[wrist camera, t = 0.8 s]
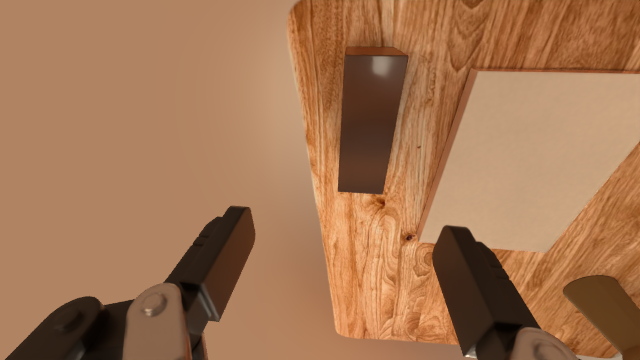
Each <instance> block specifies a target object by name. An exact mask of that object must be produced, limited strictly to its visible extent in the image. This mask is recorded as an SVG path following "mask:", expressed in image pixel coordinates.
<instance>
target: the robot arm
mask: <svg viewBox="0 0 640 360" xmlns="http://www.w3.org/2000/svg"><path fill="white" fill-rule="evenodd" d="M254 241H255V229H254V224H253V219H252V214H251V210H250V208H249V207H242V206H230V207H229V208H228V209H227V211H226V212H225V214H224V215H223V217H216V218H215V219H213V220H212V221H211V222H209V223H208V224H207V225H206V226H205V227H204V229H203V230H202V231H201V233H200V234H199V237H197V238H196V240H195V241H194V242H193V245H192V246H191V247H190V248H189V249H188V251H187V252H186V253H185V255H184V256H183V257H182V259H181V260H180V262H179V263H178V264H177V266H176V267H175V268H174V270H173V271H172V273H171V274H170V275H169V277H168V278H167V279H166V280H165V282H164V283H162V284H158V285H155V286H152V287H150V288H149V289H147V290H145V291H144V292H143V293H141V294H140V295H139V296H138V297H137V298H136V299H133V300H129V301H124V302H118V303H113V304H108V305H103V304H102V303H101V302H100V301H99V300H98V299H96V298H95V297H90V296H89V297H82V298H77V299H75V300H72V301H70V302H68V303H66V304H64V305H62V306H61V307H59V308H58V309H56V310H55V311H54V312H52V313H51V314H50V315H49V316H48V317H47V318H46V319H45V320H44V321H43V322H42V323H41V324H40V325H39V326H38V327H37V328H36V329H35V330H34V331H33V332H32V333H31V334H30V335H29V336H28V337H27V338H26V339H25V340H24V341H23V342H22V343H21V344H20V345H19V346H18V347H17V348H16V349H15V350H14V351H13V352H12V353H11V354H10V355H9V356H8V357H7V358H6V359H5V360H208V356H207V349H206V343H205V337H204V332H203V330H204V328H205V326H206V324H207V322H208V321H216V322H219V321H220V319H221V316H222V314H223V312H224V310H225V308H226V305H227V303H228V301H229V298H230V296H231V294H232V292H233V290H234V287H235V285H236V283H237V281H238V279H239V276H240V274H241V272H242V270H243V267H244V265H245V263H246V261H247V259H248V256H249V254H250V252H251V250H252V248H253V245H254ZM432 261H433V266H434V269H435V272H436V275H437V278H438V281H439V284H440V287H441V290H442V293H443V296H444V299H445V302H446V305H447V308H448V311H449V314H450V317H451V320H452V323H453V326H454V329H455V332H456V335H457V338H458V341H459V344H460V347H461V350H462V353H463V356H464V357H471V358H477V359H478V360H580V359H578V358H577V357H576V355H575V354H574V353H573V352H572V351H571V350H570V349H569V348H568V347H567V346H566V345H565V344H564V343H563V342H562V341H560V340H559V339H558V338H556V337H555V336H553V335H551V334H550V333H548V332H546V331H543V330H542V329H541V328H540V326H539V325H538V323H537V322H536V320H535V319H534V317H533V315H532V314H531V312H530V310H529V309H528V307H527V306H526V304H525V302H524V301H523V299H522V298H521V296H520V294H519V293H518V291H517V289H516V288H515V286H514V285H513V283H512V281H511V280H509V276H508V275H507V273H506V272H505V270H504V269H502V265H501V264H500V262H499V260H498V259H497V257H496V255H495V254H494V253H493V252H492V251H491V250H490V249H489V248H488V247H487V246H486V245H485V244H484V243H482V242H479V241H476V240H475V238H474V237H473V235H472V233H471V231H470V230H469V229H468V228H467V227H463V226H452V225H445V226H444V227H443V228H442V230H441V233H440V235H439V238H438V240H437V242H436V245H435V247H434V249H433V254H432Z"/></svg>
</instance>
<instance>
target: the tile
mask: <svg viewBox="0 0 640 360" xmlns="http://www.w3.org/2000/svg"><path fill="white" fill-rule="evenodd" d="M639 141H640V71H614V70H551V69H489V68H471V69H470V72H469V75H468V78H467V81H466V84H465V87H464V90H463V93H462V96H461V99H460V102H459V105H458V108H457V111H456V114H455V117H454V121H453V124H452V127H451V130H450V133H449V136H448V139H447V142H446V145H445V148H444V151H443V154H442V157H441V160H440V163H439V166H438V169H437V172H436V175H435V178H434V181H433V184H432V187H431V190H430V193H429V196H428V200H427V203H426V206H425V209H424V212H423V215H422V218H421V221H420V224H419V227H418V230H417V233H416V234H417V237H418V241H419V242H425V243H436V242H437V240H438V238H439V235H440V233H441V230H442V228H443V227H444V226H445V225H452V226H463V227H467V228H468V229H469V230H470V231H471V233H472V235H473V237H474V238H475V240H476V241H479V242H482V243H484V244H485V245H486V246H487V247H488V248H494V249H506V250H518V251H529V252H541V253H547V252H548V251H549V249H550V248H551V247H552V246H553V245H554V243H555V242H556V241H557V240H558V239H559V237H560V236H561V235H562V234H563V233H564V231H565V230H566V229H567V228H568V227H569V225H570V224H571V223H572V222H573V221H574V219H575V218H576V217H577V216H578V215H579V213H580V212H581V211H582V210H583V209H584V207H585V206H586V205H587V204H588V203H589V201H590V200H591V199H592V198H593V197H594V195H595V194H596V193H597V192H598V191H599V189H600V188H601V187H602V186H603V185H604V183H605V182H606V181H607V180H608V179H609V177H610V176H611V175H612V174H613V173H614V171H615V170H616V169H617V168H618V167H619V165H620V164H621V163H622V162H623V161H624V159H625V158H626V157H627V156H628V155H629V153H630V152H631V151H632V150H633V149H634V147H635V146H636V145H637V144H638V143H639Z"/></svg>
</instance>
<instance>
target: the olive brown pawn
mask: <svg viewBox="0 0 640 360" xmlns="http://www.w3.org/2000/svg"><path fill="white" fill-rule="evenodd" d="M563 294H564V295H565V296H566V297H567V299H568V300H569V301H570V302H571V303H572V304H573V305H574V306H575V307H576V308H577V309H578V310H579V311H580V312H581V313H582V314H583V315H584V316H585V317H586V318H587V319H588V320H589V321H590V322H591V323H592V324H593V325H594V326H595V327H596V328H597V329H598V330H599V331H600V332H601V334H602V335H603V336H604V337H605V338H606V339H607V340H608V341H609V342H610V343H611V344H612V345H613V346H614V347H615V348H616V349H617V350H618V351H619V352H620V353H621V354H622V358H623V360H640V309H639V308H638V307H637V306H636V304H635V303H634V302H633V301H632V299H631V298H630V297H629V296H628V294H627V293H626V292H625V291H624V289H623V288H622V287H621V286H620V284H619V283H618V282H617V281H616V280H615V279H614V278H611V277H608V276H590V277H584V278H581V279H578V280H575V281H573V282H572V283H570V284H568V285H567V286H566V287H565V288H564V290H563Z"/></svg>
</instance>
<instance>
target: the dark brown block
mask: <svg viewBox="0 0 640 360" xmlns="http://www.w3.org/2000/svg"><path fill="white" fill-rule="evenodd" d="M407 62H408V55H406V54H405V53H403V52H401V51H400V50H398V49H396V48H394V47H347V49H346V53H345V60H344V80H343V99H342V119H341V138H340V158H339V177H338V192H352V193H366V194H381V195H382V194H383V190H384V185H385V179H386V174H387V169H388V163H389V158H390V153H391V147H392V142H393V137H394V131H395V126H396V121H397V115H398V110H399V105H400V99H401V94H402V89H403V83H404V78H405V73H406V68H407Z"/></svg>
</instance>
